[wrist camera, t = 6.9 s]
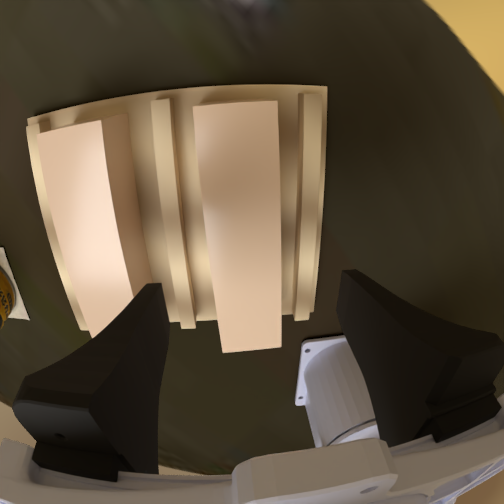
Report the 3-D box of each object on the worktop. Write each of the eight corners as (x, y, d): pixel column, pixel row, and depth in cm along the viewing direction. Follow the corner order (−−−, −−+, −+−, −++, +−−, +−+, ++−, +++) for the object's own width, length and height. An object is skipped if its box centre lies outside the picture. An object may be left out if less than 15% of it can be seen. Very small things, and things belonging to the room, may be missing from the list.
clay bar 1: (159, 312, 23) (150, 355, 19) (114, 313, 23) (99, 355, 19) (127, 112, 16) (101, 120, 12) (73, 122, 16) (36, 134, 12)
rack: (310, 305, 25) (317, 323, 23) (83, 317, 23) (74, 334, 22) (323, 86, 17) (335, 86, 15) (33, 117, 16) (16, 121, 14)
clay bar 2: (271, 303, 23) (281, 346, 19) (221, 308, 23) (222, 352, 19) (263, 98, 17) (277, 100, 13) (199, 103, 16) (192, 106, 12)
